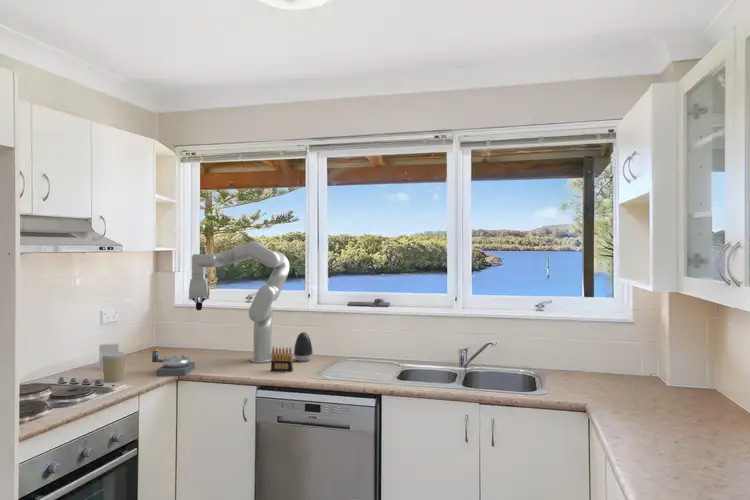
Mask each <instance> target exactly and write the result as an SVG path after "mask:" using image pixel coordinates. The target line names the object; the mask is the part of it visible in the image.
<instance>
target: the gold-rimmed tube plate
mask: <svg viewBox="0 0 750 500" xmlns="http://www.w3.org/2000/svg"><path fill="white" fill-rule="evenodd" d="M151 362H152V363H162V366H163V367H165V368H180V367H185V366H188V365H189V362H190V356H189V355H188V354H185V353H183V354H181V356H178V354H172V355H171V357H170V356H169V355H165V356H163V357H162V358H159V348H152V349H151Z"/></svg>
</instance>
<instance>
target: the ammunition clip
mask: <svg viewBox="0 0 750 500" xmlns="http://www.w3.org/2000/svg"><path fill="white" fill-rule="evenodd" d="M271 351H272V361H271V362H270V363H271V365H270V371H271V372H285V371H287V372H289V373H291V372H293V371H294V368H293V354H292V353H293V350H292V347H291V346H290V347H289V349H288V347H287V346H286V348H285V347H284V346H283V347H282V348H281V346H279V349H278V346H276V347H275V346H272V347H271ZM278 354H279V355H278ZM287 372H286V373H287Z"/></svg>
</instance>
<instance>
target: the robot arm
mask: <svg viewBox="0 0 750 500" xmlns="http://www.w3.org/2000/svg"><path fill="white" fill-rule="evenodd" d="M252 259H253V260H255V261H257V262H259V263H260V264H262V265H264V266H266V267H268V268H271V269H273V270H272V272H271V274H270V275H269V278H268V280H267V282H266V284H265V285H263V286H261V287H260V288H259V289H258V291H257V292H256V293H255V296H254V298H253V300H252V303H251V304H250V307H249V309H248V317H249V318H250V320H251V321H253V356H252V357H251V358H250V362H252V363H257V364H262V363H264V364H265V363H271V361H272V330H273V329H272V325H273V324H272V323H273V307H272V304H273V302H275V301H277V299H278V298H279V296H280V294H281V291H282V289H283V287H284V285H285V282H286V281H287V278H288V275H289V271H290V261H289V260H288V258H287V256H286V255H285V254H284V253H282V252H281V251H273V250H271V249H269V247H268V248H267V247H266V245H265V244H264V242H262V241H259V240H258V241H256V240H252V241H250V242H248V243H246V244H242V245H237V246H234V247H233V248H232V249H229V250H227V251H222V252H219V253H206V254H204V253H195V254H192V256H191V279H190V281H189V288H188V299H189V300H191V301H193V302H194V303H195V309H196V311H202V309H203V302H204V301H206V300H209V299H210V284H209V279H208V278H210V274H209V273H208V274H207V268H221V267H223V266H228V265H232V264H235V263H240V262H241V263H242V262H244V261H249V260H252ZM278 355H279V353H278Z"/></svg>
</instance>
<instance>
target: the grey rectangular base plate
mask: <svg viewBox="0 0 750 500" xmlns="http://www.w3.org/2000/svg"><path fill="white" fill-rule="evenodd" d="M195 366H196V365H195V361H189V365H188V366H185V367H180V368H165V367H163V365H162V366H160V367H159V368H157V369H156V377H179V376H180V377H181V376H183V377H184V376H186V375H188V374H189V373H190V372H191V371H192V370H194V369H195Z"/></svg>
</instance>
